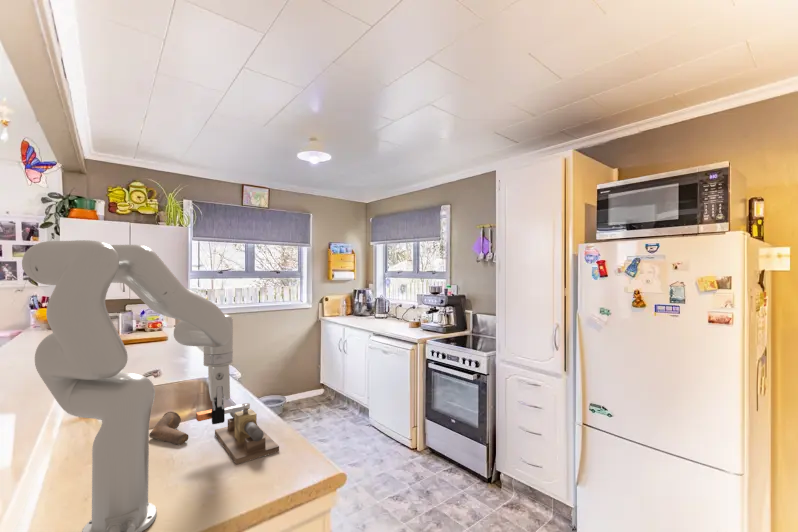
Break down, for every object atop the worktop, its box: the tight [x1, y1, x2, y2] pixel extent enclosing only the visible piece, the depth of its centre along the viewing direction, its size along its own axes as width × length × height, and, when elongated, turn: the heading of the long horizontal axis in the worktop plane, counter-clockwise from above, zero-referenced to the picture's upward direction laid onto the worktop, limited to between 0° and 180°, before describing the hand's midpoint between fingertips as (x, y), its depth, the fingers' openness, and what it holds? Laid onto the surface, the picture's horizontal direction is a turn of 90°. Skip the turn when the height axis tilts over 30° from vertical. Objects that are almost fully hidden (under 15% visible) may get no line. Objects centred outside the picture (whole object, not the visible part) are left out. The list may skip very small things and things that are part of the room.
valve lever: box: [195, 402, 251, 422], centre depth 113 cm, size 3×15×2 cm, turn 129°
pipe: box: [149, 411, 189, 446], centre depth 121 cm, size 6×17×10 cm
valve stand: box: [214, 408, 280, 465], centre depth 117 cm, size 24×12×10 cm, turn 39°
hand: (218, 422), depth 108 cm, fingers closed
